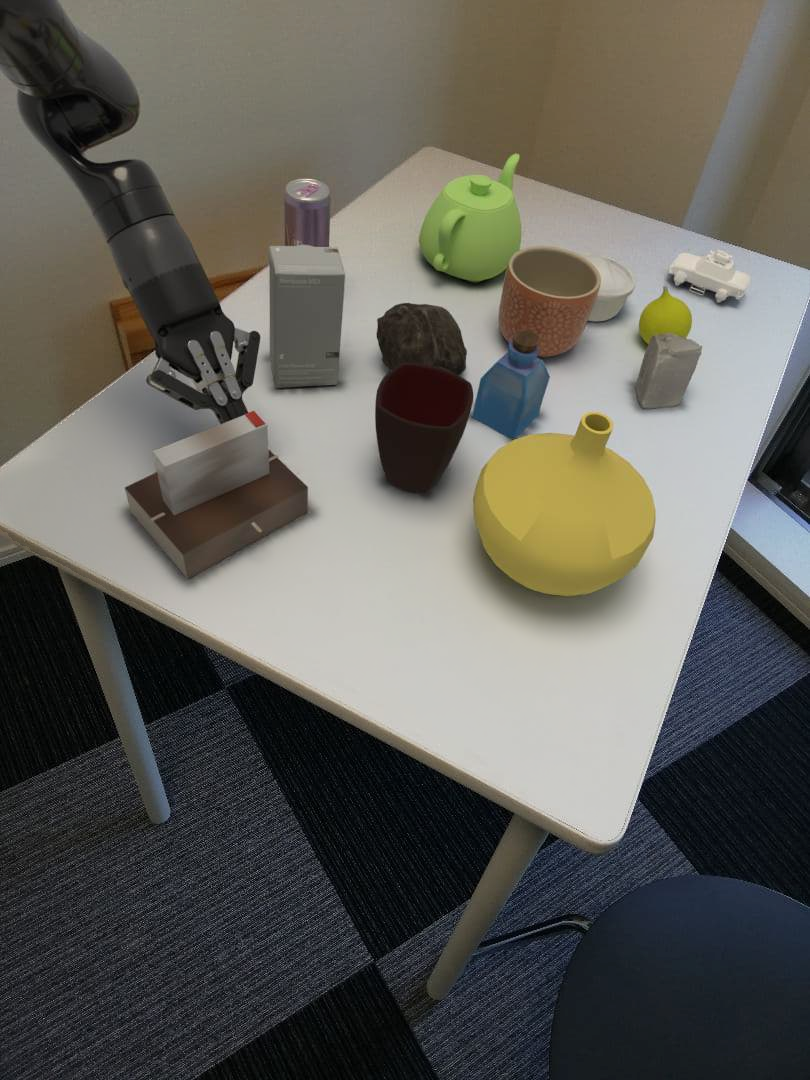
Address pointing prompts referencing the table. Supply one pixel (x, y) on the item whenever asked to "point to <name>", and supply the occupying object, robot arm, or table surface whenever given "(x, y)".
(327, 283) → the cosmetic box
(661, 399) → the mineral specimen
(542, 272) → the planter
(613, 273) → the ramekin
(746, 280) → the toy car
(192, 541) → the brown rectangular plinth
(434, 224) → the teapot
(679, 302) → the ornament
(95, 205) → the robot arm
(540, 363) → the perfume bottle
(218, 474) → the red-tipped metal bar
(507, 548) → the vase
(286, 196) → the beverage can
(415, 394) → the mug
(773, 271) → the table surface
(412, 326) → the rock
